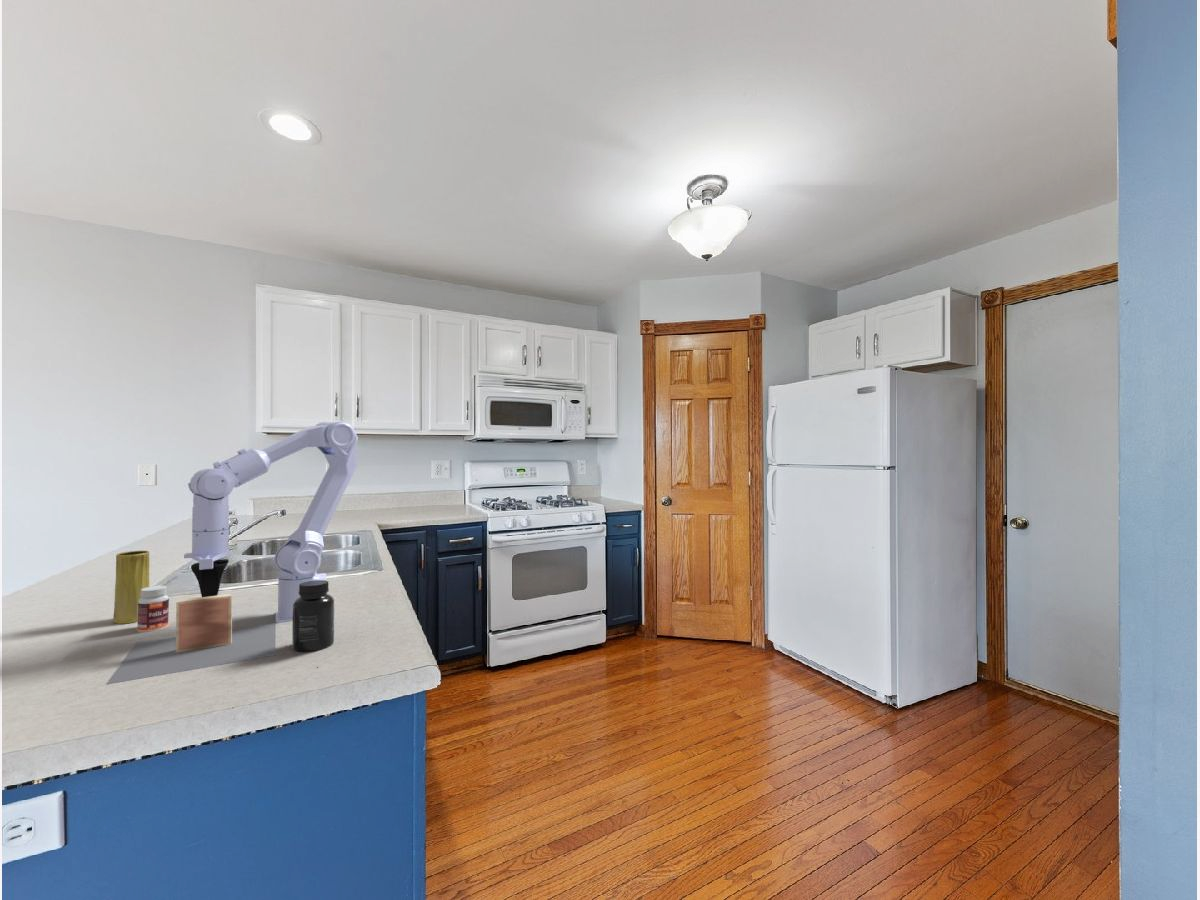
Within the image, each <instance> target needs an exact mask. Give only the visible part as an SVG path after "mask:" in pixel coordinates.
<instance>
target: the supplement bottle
mask: <svg viewBox="0 0 1200 900" xmlns="http://www.w3.org/2000/svg"><path fill="white" fill-rule="evenodd" d="M329 591H330V588H329V581H328V580H327V581H325V580H315V581H308V582H304V583H301V584H300V585H299V595H300V598H298V599H297V600H296V601H295V602H294V604H293V620H292V622H291V623H292V624H291V625H292V627H291V628H292V631H291V632H292V637H291V639H292V641H291V643H292V645H291V646H292V651H294V652H297V653H312V652H313V653H314V652H317V651H323V650H325V649H328V648H330V647H332V646H333V645H334V643H335V599H334V597H333V596H332V595H330V594H329V593H328V592H329Z"/></svg>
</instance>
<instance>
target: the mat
mask: <svg viewBox="0 0 1200 900" xmlns="http://www.w3.org/2000/svg"><path fill="white" fill-rule="evenodd" d="M276 627H277V623H276V622H272V623H263V624H258V625H256V624H255V625H251V626H241V627H236V628H235V627H234V628H232V642H231V644H229V645H222V646H216V647H209V648H203V649H197V650H190V651H184V652H177V653H176V636H172V637H167V638H159V639H151V640H145V641H139V642H135V643H134V645H133V647H132V648H131V649H130V651H129V653H127V655H126V656H125V658H124V659H123V661H121V663H120V665H119V666H118V667H117V669H116V670H115V672H114V673H113V675H112V676H111V677H110V678H109V680H108V681H107V682H106V685H112V684H118V683H123V682H129V681H135V680H141V679H146V678H152V677H158V676H159V677H160V676H163V675H169V674H171V675H172V674H175V673H182V672H187V671H193V670H199V669H204V668H209V667H210V668H212V667H215V666H216V667H217V666H223V665H227V664H228V665H229V664H235V663H239V662H246V661H252V660H257V659H263V658H268V657H273V656H276V631H277V630H276Z"/></svg>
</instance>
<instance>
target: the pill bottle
mask: <svg viewBox="0 0 1200 900" xmlns="http://www.w3.org/2000/svg"><path fill="white" fill-rule="evenodd" d="M167 589H168V588H167V586H165V585H153V586H149V587H147V588H143V589H141V593H140V596H141V597H142V598H141V599H140V600H139V601H138V622H137V632H140V633H141V632H145V633H146V632H147V633H148V632H154V631H159V630H162V629H165V628H167V627H168V626H169V612H170V611H169V609H170V605H169V604H170V598H169V596H168V595H167V592H168V590H167Z"/></svg>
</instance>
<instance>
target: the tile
mask: <svg viewBox="0 0 1200 900" xmlns="http://www.w3.org/2000/svg"><path fill="white" fill-rule="evenodd" d="M175 606H176V611H175V612H176V613H175V614H176V616H175V617H176V618H175V619H176V620H175V621H176V622H175V637H176V653H177V652H184V651H190V650H197V649H203V648H209V647H216V646H222V645H229V644H231V642H232V629H233V593H228V594H226V593H225V594H218V595H217V596H208V597H202V596H199V597H192V598H191V597H190V598H184V599H183V598H182V599H177V601H176V605H175Z"/></svg>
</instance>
